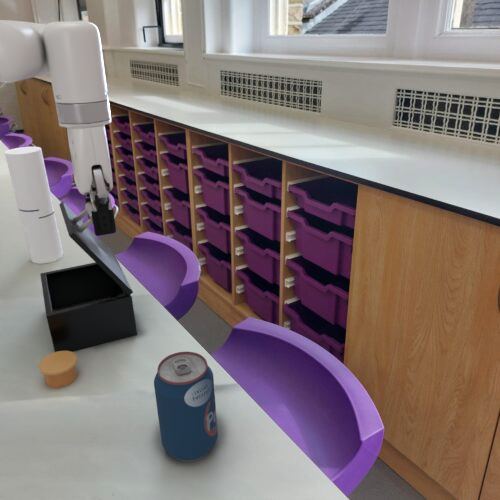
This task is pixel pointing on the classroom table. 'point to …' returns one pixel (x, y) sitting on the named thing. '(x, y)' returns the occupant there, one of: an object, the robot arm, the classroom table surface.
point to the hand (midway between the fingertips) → (102, 225)
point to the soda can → (186, 405)
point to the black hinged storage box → (86, 308)
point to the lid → (93, 244)
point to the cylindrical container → (35, 203)
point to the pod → (59, 368)
